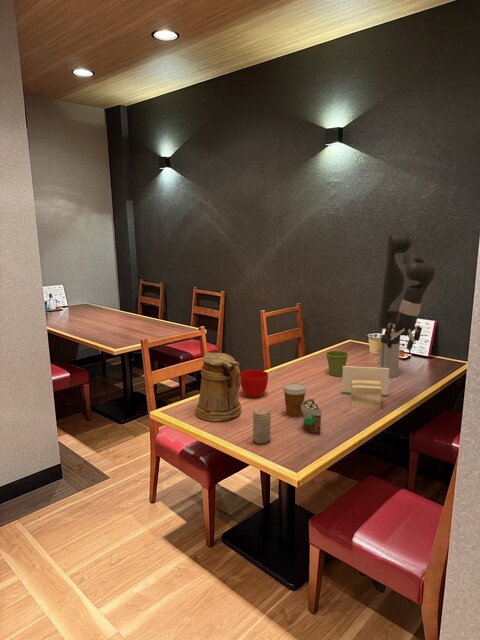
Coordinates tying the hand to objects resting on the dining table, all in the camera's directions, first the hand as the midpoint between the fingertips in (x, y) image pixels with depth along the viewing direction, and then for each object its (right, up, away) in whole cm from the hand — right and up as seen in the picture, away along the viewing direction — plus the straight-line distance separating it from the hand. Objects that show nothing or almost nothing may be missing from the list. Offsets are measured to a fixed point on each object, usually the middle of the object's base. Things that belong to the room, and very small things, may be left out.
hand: (398, 348), depth 190 cm
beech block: (-11, -25, +9) cm, 28 cm away
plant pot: (-16, -17, +47) cm, 53 cm away
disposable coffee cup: (-43, -27, -1) cm, 51 cm away
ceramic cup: (-58, -23, +23) cm, 67 cm away
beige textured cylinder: (-58, -32, -23) cm, 70 cm away
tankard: (-73, -28, 0) cm, 78 cm away
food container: (-39, -30, -15) cm, 52 cm away
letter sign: (-9, -22, +21) cm, 31 cm away
